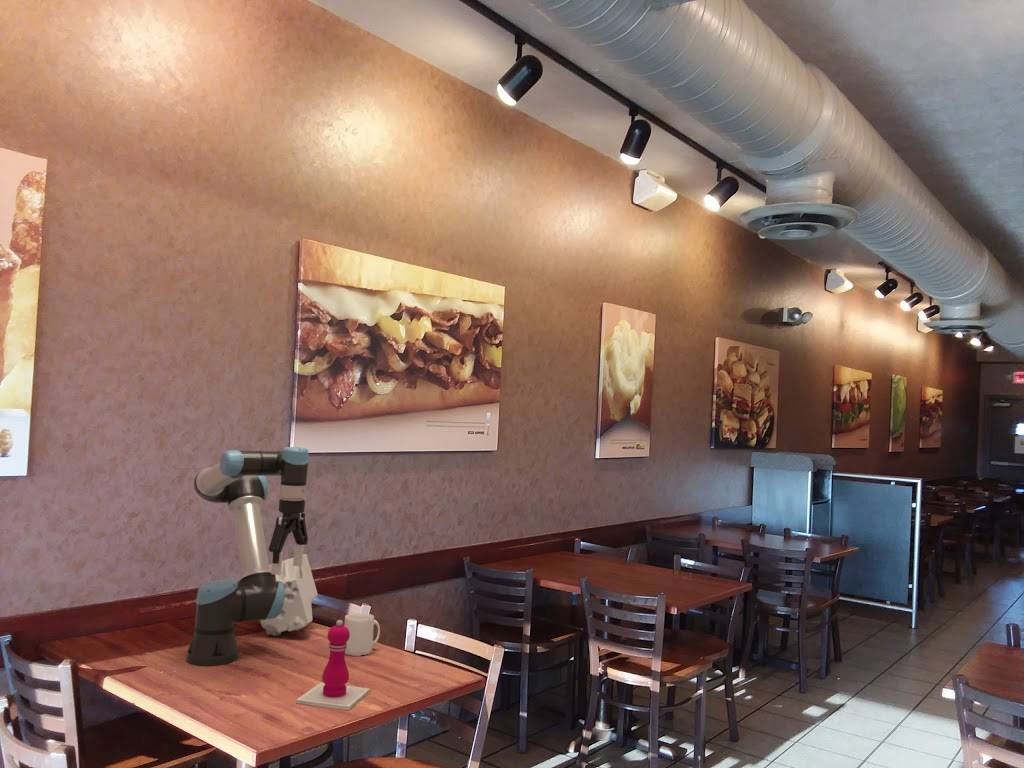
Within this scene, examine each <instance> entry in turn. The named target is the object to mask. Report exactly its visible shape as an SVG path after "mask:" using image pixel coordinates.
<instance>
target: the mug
mask: <svg viewBox="0 0 1024 768" xmlns="http://www.w3.org/2000/svg"><path fill="white" fill-rule="evenodd" d="M374 625H375V626H376V628H377V634H376V635H377V636H376V638H375V640H374ZM344 626H345V627H347V628H348V630H349V632H350V637H349V640H348V641H347V642H346V643H347V649H346V650H345V655H346V654H347V655H346V656H349V655H352V656H351V657H362V656H361V655H365V656H368V655H370V654H371V653H372V652H373V645H375V644H376V643H377V642H378V641H379V638H380V635H381V627H380V624H379V622H378V621H377V620H376V619H375V615H373V614H371V613H364V612H353V613H352V612H351V613H349V614H348V613H347V614H346V615H345V616H344ZM367 654H368V655H367Z"/></svg>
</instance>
